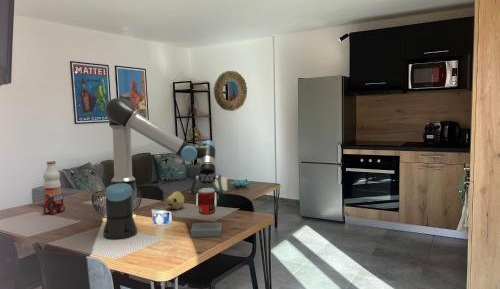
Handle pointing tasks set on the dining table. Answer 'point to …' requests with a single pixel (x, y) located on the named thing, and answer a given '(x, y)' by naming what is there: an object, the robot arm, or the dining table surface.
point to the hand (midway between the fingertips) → (206, 206)
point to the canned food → (206, 201)
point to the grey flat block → (206, 229)
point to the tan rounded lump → (175, 200)
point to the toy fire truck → (54, 204)
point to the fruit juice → (51, 181)
